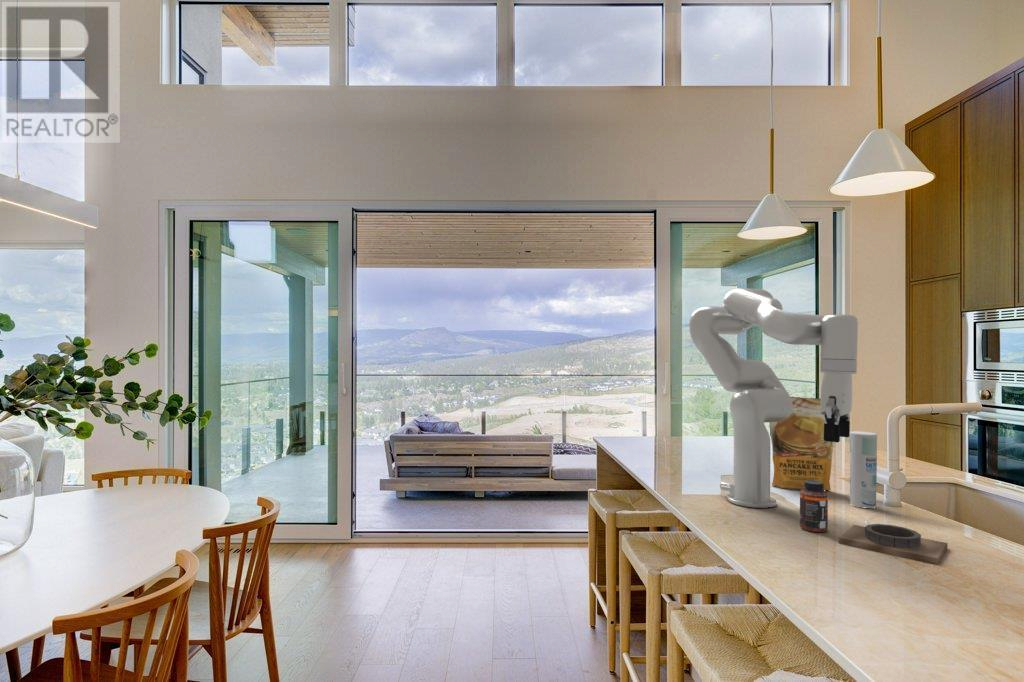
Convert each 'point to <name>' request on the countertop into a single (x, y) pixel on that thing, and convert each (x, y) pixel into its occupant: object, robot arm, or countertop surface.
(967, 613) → the countertop surface
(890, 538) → the bottle holder
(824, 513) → the supplement bottle
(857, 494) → the spray can
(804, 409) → the pancake mix bag
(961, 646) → the countertop surface
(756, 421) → the robot arm
